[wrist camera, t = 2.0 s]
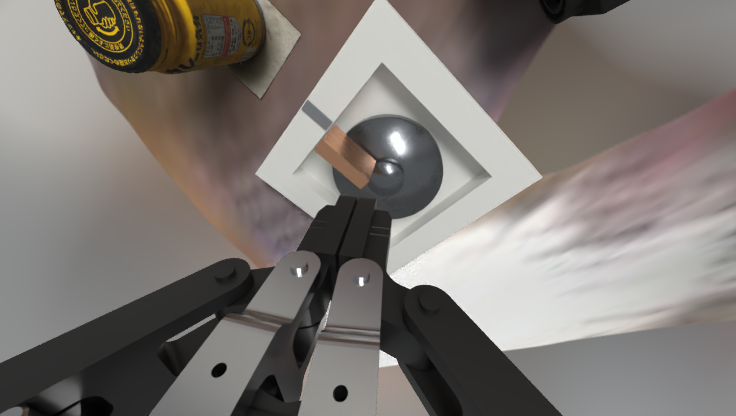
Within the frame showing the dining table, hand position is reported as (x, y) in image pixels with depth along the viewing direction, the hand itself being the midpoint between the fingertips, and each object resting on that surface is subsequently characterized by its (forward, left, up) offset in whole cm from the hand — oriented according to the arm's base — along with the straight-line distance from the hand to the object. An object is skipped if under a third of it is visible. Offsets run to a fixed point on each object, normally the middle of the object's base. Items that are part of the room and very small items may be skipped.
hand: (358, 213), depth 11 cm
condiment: (+14, +4, -17) cm, 23 cm away
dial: (-4, +4, -16) cm, 17 cm away
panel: (-4, +4, -17) cm, 18 cm away
